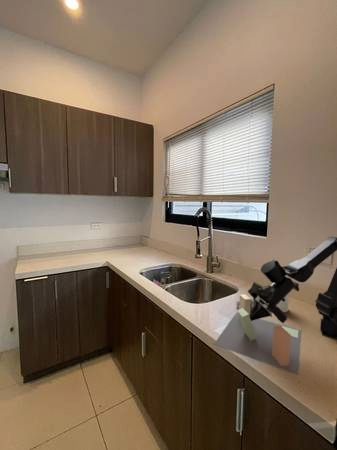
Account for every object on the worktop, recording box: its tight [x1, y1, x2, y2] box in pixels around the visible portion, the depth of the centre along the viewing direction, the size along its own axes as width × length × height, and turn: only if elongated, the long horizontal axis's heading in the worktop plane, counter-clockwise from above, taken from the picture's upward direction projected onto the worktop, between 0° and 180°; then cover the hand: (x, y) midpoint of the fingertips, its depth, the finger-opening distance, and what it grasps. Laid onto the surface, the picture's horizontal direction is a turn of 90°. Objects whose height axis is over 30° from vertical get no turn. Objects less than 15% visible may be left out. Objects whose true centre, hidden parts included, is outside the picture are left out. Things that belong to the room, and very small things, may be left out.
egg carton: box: [235, 298, 254, 313], centre depth 108 cm, size 11×8×4 cm
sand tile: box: [238, 293, 251, 316], centre depth 96 cm, size 2×5×10 cm, turn 6°
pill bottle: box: [270, 283, 290, 313], centre depth 107 cm, size 8×8×15 cm
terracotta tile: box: [272, 326, 291, 366], centre depth 70 cm, size 2×5×10 cm, turn 6°
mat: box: [213, 312, 302, 375], centre depth 83 cm, size 26×28×1 cm
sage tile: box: [236, 308, 257, 341], centre depth 83 cm, size 2×5×10 cm, turn 6°
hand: (249, 319), depth 83 cm, fingers closed
